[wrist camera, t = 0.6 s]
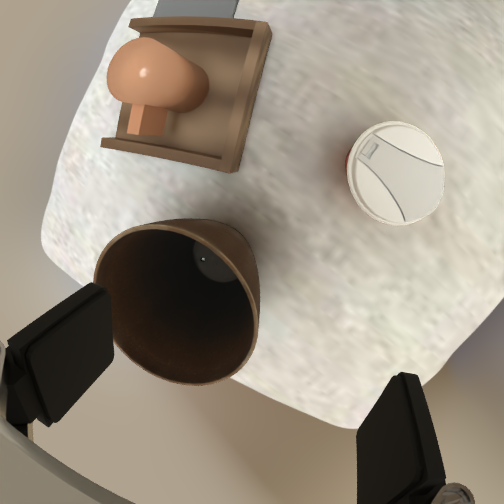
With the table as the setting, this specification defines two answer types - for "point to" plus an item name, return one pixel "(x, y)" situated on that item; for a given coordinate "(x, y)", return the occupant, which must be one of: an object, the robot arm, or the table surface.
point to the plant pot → (182, 298)
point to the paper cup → (395, 173)
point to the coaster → (196, 8)
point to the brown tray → (219, 95)
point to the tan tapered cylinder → (154, 84)
